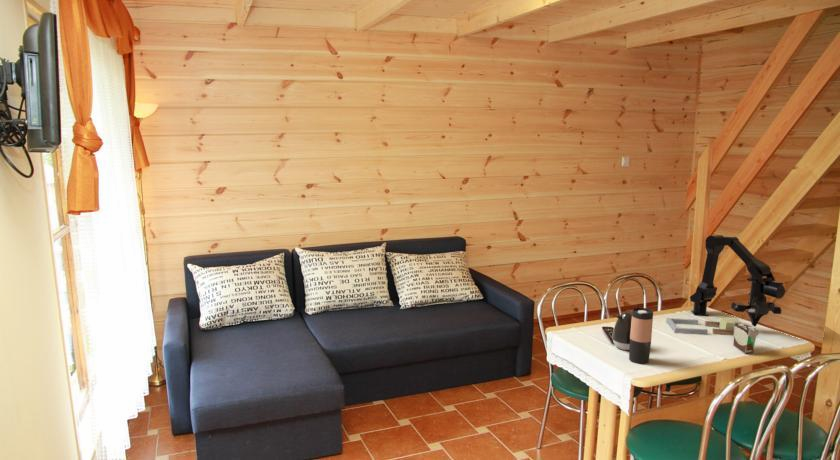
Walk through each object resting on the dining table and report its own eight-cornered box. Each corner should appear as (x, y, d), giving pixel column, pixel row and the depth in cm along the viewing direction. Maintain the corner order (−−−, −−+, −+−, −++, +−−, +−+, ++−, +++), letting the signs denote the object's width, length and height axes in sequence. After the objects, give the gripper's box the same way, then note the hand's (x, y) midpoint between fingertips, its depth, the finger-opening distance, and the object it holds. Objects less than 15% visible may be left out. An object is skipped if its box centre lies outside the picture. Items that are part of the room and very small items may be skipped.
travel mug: (644, 356, 230) (648, 307, 227) (652, 364, 223) (657, 313, 219) (625, 356, 230) (629, 307, 227) (632, 364, 222) (636, 313, 219)
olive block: (719, 328, 266) (720, 317, 265) (735, 329, 265) (736, 318, 264) (725, 333, 259) (726, 322, 258) (742, 334, 258) (743, 323, 257)
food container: (762, 356, 233) (765, 331, 231) (746, 355, 233) (749, 331, 231) (746, 344, 245) (748, 321, 243) (731, 344, 245) (733, 321, 243)
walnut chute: (704, 325, 269) (705, 321, 269) (742, 327, 267) (742, 323, 266) (713, 334, 257) (713, 329, 257) (752, 336, 255) (753, 332, 255)
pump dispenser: (605, 345, 242) (608, 309, 240) (626, 342, 246) (629, 307, 243) (622, 353, 233) (625, 317, 230) (643, 350, 236) (646, 314, 234)
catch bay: (666, 321, 273) (666, 317, 273) (696, 323, 271) (697, 319, 271) (674, 332, 258) (675, 328, 258) (707, 334, 256) (707, 330, 256)
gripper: (742, 296, 251) (738, 331, 254) (789, 298, 248) (784, 334, 251) (732, 289, 262) (728, 323, 265) (777, 291, 259) (773, 325, 262)
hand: (753, 326), depth 260 cm, fingers closed
